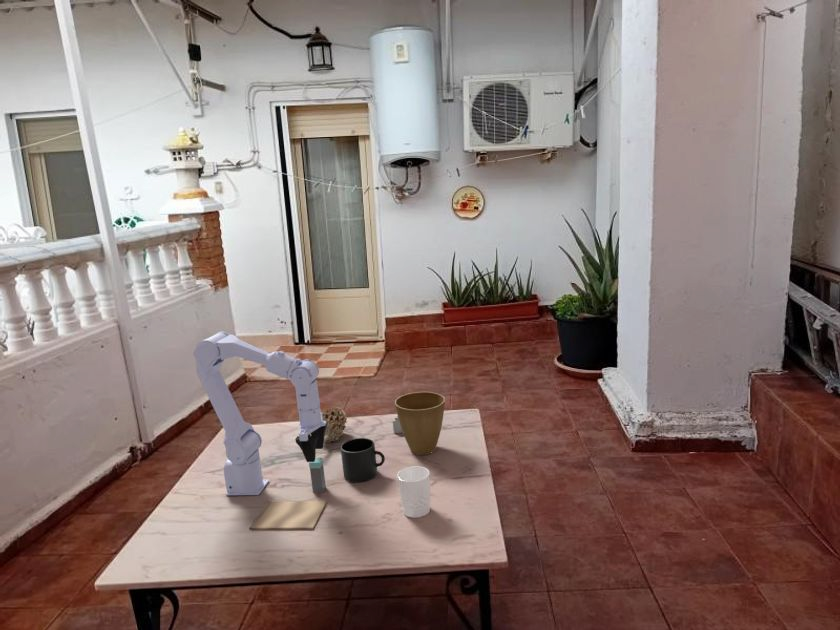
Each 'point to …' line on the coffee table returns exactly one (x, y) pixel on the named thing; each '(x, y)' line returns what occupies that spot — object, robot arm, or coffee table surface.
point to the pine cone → (334, 423)
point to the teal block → (317, 475)
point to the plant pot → (421, 420)
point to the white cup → (414, 491)
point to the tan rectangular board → (288, 515)
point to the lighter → (397, 426)
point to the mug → (360, 459)
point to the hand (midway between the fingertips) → (315, 454)
